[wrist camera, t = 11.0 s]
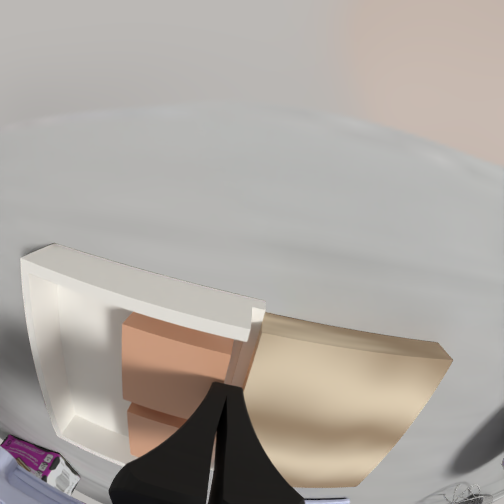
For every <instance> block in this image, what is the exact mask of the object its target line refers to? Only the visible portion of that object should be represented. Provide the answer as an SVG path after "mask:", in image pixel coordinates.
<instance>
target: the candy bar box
mask: <svg viewBox="0 0 504 504" xmlns="http://www.w3.org/2000/svg"><path fill="white" fill-rule="evenodd" d="M0 446H1V447H2V448H4V449H5V450H6V451H8V452H9V453H10V454H11V455H12V456H13V457H14V458H15V459H16V461H17V463H18V465H20V466H21V467H23V468H24V469H26V470H27V471H29V472H30V473H32V474H33V475H35V476H36V477H38V478H40V479H41V480H43V481H44V482H46V483H48V484H50V485H51V486H53V487H55V488H56V489H58V490H60V491H62V492H64V493H66V494H68V495H69V496H71V494H72V492H73V491H74V489H75V487H76V485H77V483H78V481H79V480H80V476H79V475H78V474H77V473H76V472H75V471H74V470H73V468H72V467H71V466H70V465H69V464H68V463H67V462H66V460H65V459H64V458H63V457H62V456H61V455H60V454H57V453H54V452H51V451H48V450H45V449H43V448H40V447H37V446H35V445H32V444H30V443H27V442H25V441H23V440H20V439H18V438H16V437H14V436H11V435H8V436H7V437H6V439H5V440H4V441H3V442H2V444H1V445H0Z"/></svg>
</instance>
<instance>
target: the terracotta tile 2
mask: <svg viewBox="0 0 504 504" xmlns="http://www.w3.org/2000/svg"><path fill="white" fill-rule="evenodd" d="M233 342H234V339H231V338H227V337H223V336H219V335H215V334H211V333H207V332H203V331H199V330H195V329H191V328H188V327H184V326H180V325H177V324H173V323H170V322H166V321H163V320H159V319H156V318H152V317H149V316H146V315H143V314H139V313H136V312H132V313H131V314H130V315H129V317H128V318H127V319H126V320H125V321H124V322H123V323H122V391H123V399H124V400H127V401H130V402H133V403H136V404H138V405H141V406H144V407H147V408H150V409H153V410H157V411H160V412H163V413H166V414H170V415H173V416H177V417H180V418H184V419H189V418H190V416H191V415H192V414H193V413H194V412H195V411H196V409H197V408H198V406H199V405H200V404H201V402H202V401H203V399H204V398H205V396H206V395H207V393H208V391H209V389H210V387H211V384H212V382H219V383H224V381H225V377H226V373H227V369H228V366H229V362H230V358H231V354H232V348H233Z"/></svg>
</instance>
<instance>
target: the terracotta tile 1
mask: <svg viewBox="0 0 504 504" xmlns="http://www.w3.org/2000/svg"><path fill="white" fill-rule="evenodd" d="M127 420H128V433H129V444H130V453H131V455H134V456H136V457H141V456H143V455H144V454H146V453H148V452H149V451H151V450H152V449H154V448H155V447H157V446H158V445H160V444H161V443H163V442H164V441H165V440H166V439H168V438H169V437H170V436H171V435H172V434H174V433H175V432H176V431H177V430H178V429H179V428H180V427H181V426H182V425H183V424H184V423H185V422H186V421H187V420H188V419H184V418H180V417H177V416H173V415H170V414H166V413H163V412H160V411H157V410H153V409H150V408H147V407H144V406H141V405H138V404H136V403H133V402H132V403H131V405H130V406H129V408H128V410H127Z"/></svg>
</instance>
